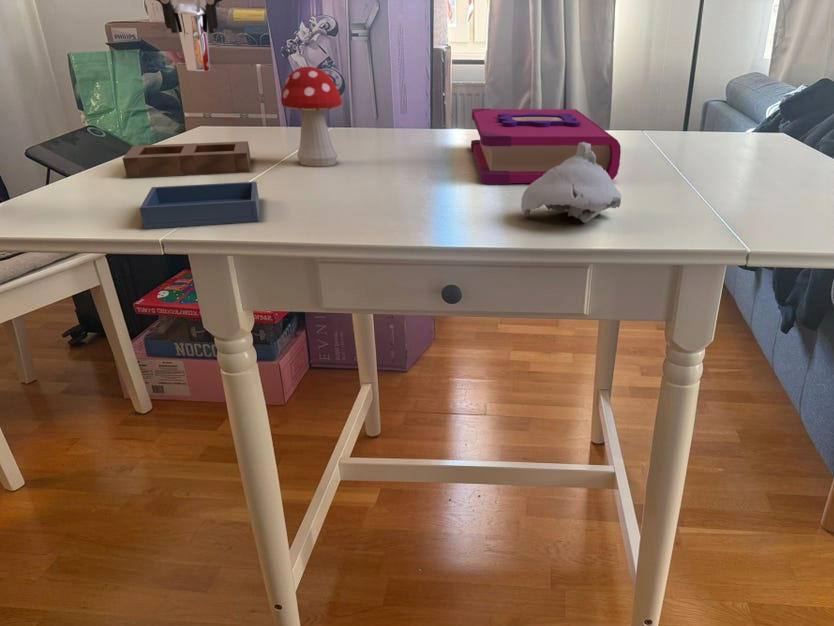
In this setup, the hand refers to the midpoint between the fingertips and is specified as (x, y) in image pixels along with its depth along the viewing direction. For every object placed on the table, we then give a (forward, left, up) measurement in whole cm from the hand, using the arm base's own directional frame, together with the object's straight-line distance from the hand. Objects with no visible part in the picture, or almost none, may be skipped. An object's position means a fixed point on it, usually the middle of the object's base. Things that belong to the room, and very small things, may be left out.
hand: (193, 32), depth 100 cm
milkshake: (0, 0, -6) cm, 6 cm away
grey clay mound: (+45, -41, -20) cm, 65 cm away
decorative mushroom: (+16, 0, -20) cm, 26 cm away
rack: (-4, +1, -20) cm, 20 cm away
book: (+52, -9, -20) cm, 57 cm away
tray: (0, -27, -20) cm, 34 cm away
